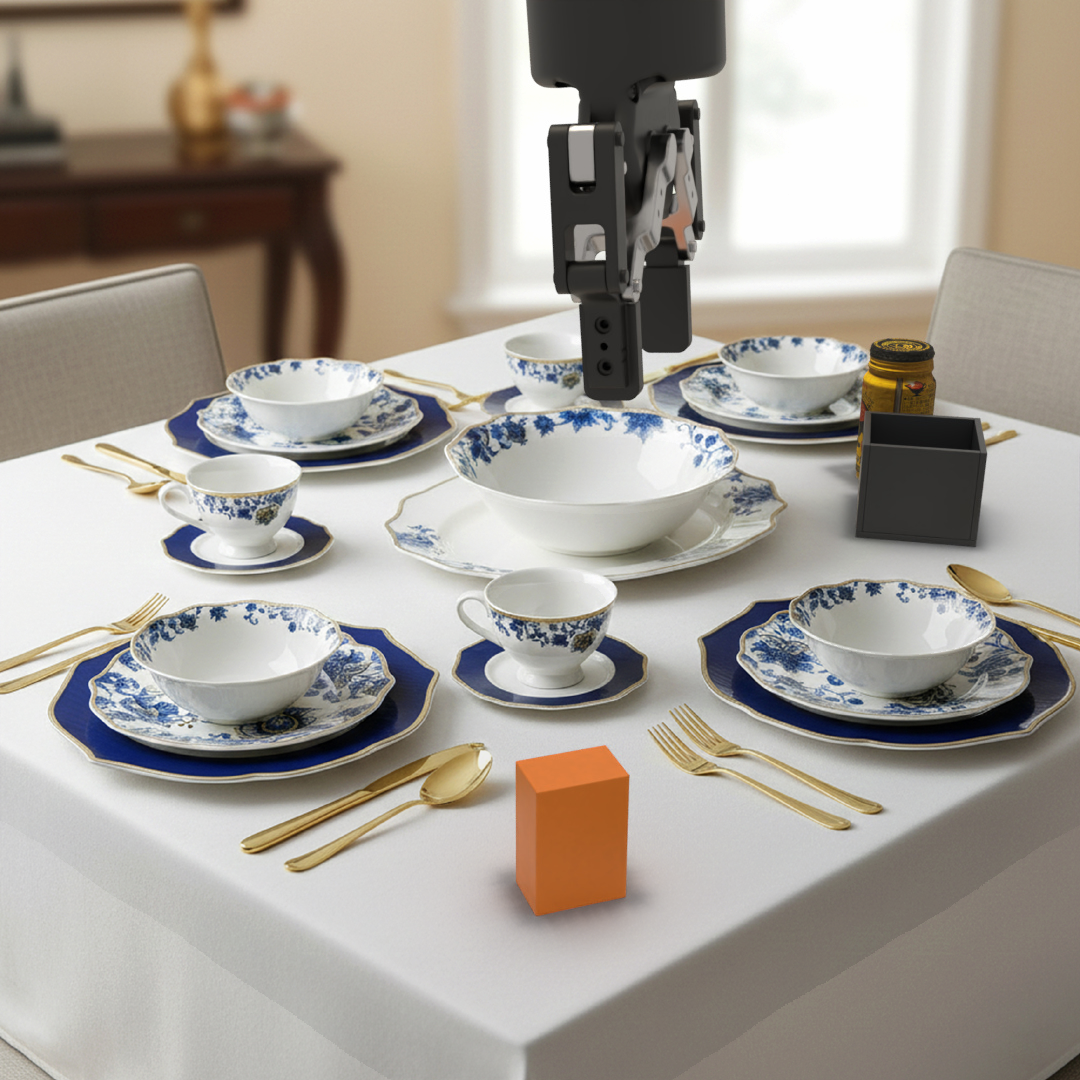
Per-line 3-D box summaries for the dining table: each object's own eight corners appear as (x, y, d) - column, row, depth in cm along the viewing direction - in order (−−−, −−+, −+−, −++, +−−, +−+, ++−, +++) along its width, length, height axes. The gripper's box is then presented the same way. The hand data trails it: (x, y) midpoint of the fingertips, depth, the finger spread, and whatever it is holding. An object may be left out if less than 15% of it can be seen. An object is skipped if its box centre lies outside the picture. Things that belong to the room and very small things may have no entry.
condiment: (835, 472, 128) (845, 337, 123) (919, 462, 130) (932, 329, 126) (879, 499, 122) (892, 359, 117) (966, 488, 124) (982, 350, 120)
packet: (515, 885, 71) (514, 760, 69) (603, 867, 73) (605, 744, 70) (535, 921, 69) (536, 792, 66) (626, 901, 70) (630, 775, 68)
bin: (969, 509, 120) (980, 418, 117) (975, 550, 111) (987, 453, 108) (856, 500, 121) (865, 410, 118) (854, 540, 113) (863, 444, 110)
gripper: (677, -66, 47) (693, 419, 53) (756, -53, 60) (763, 337, 65) (461, -47, 50) (498, 416, 55) (581, -38, 62) (601, 337, 68)
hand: (642, 373), depth 60 cm, fingers open, 8 cm apart
